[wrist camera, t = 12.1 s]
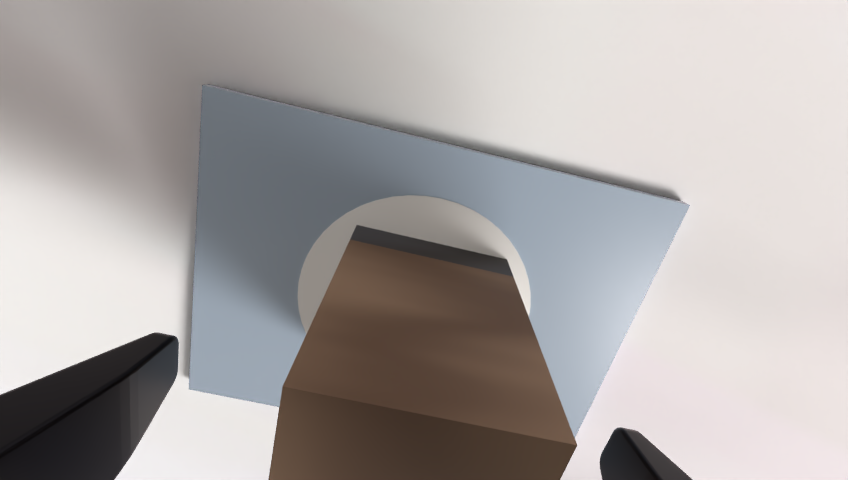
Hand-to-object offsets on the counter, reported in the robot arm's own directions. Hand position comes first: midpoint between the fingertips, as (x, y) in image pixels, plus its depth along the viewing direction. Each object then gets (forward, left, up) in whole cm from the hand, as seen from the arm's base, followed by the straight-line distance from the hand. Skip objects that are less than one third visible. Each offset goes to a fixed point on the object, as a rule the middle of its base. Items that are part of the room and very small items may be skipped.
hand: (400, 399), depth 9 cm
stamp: (0, 0, -4) cm, 4 cm away
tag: (0, 0, -4) cm, 4 cm away
